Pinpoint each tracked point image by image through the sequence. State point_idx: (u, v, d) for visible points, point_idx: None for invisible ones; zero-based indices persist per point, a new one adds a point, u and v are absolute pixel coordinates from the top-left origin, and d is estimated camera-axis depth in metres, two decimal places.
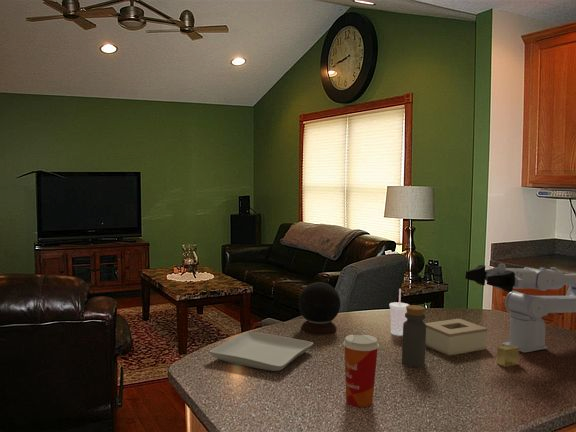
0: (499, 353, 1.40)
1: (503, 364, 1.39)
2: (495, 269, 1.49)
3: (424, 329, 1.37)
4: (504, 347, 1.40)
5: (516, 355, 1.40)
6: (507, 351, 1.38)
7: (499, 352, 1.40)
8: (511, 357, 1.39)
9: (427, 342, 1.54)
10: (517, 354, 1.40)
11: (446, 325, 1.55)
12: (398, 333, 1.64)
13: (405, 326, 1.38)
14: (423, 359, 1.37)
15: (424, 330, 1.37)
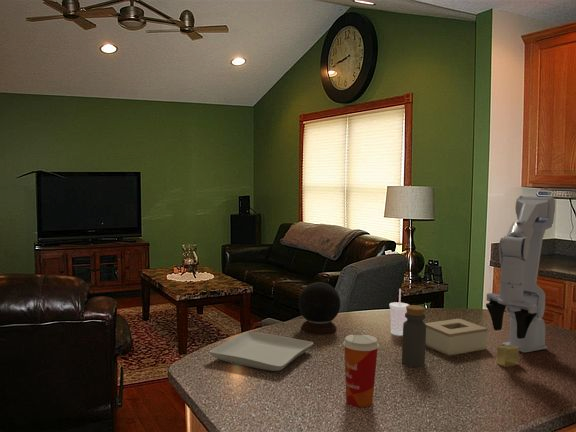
0: (499, 353, 1.40)
1: (503, 364, 1.39)
2: None
3: (424, 329, 1.37)
4: (504, 347, 1.40)
5: (516, 355, 1.40)
6: (507, 351, 1.38)
7: (499, 352, 1.40)
8: (511, 357, 1.39)
9: (427, 342, 1.54)
10: (517, 354, 1.40)
11: (446, 325, 1.55)
12: (398, 333, 1.64)
13: (405, 326, 1.38)
14: (423, 359, 1.37)
15: (424, 330, 1.37)
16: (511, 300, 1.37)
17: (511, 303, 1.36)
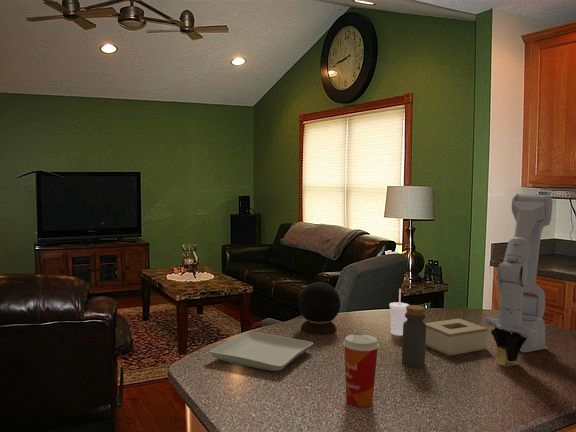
0: (499, 353, 1.40)
1: (503, 364, 1.39)
2: None
3: (424, 329, 1.37)
4: (504, 347, 1.40)
5: None
6: (507, 350, 1.38)
7: (499, 351, 1.40)
8: None
9: (427, 342, 1.54)
10: None
11: (446, 325, 1.55)
12: (398, 333, 1.64)
13: (405, 326, 1.38)
14: (423, 359, 1.37)
15: (424, 330, 1.37)
16: (510, 326, 1.37)
17: (510, 329, 1.37)
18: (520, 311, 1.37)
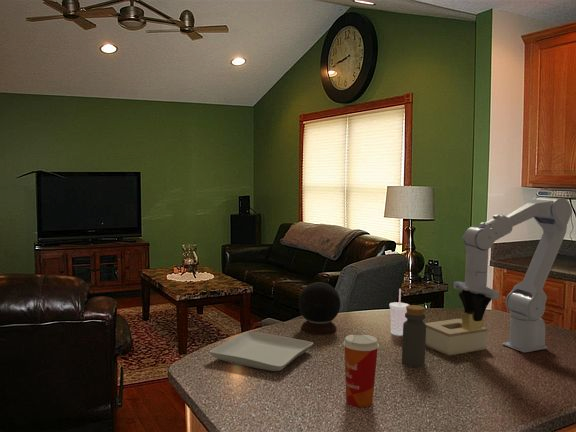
0: (464, 318, 1.47)
1: (467, 328, 1.46)
2: None
3: (424, 329, 1.37)
4: (469, 312, 1.47)
5: None
6: (471, 315, 1.46)
7: (464, 317, 1.47)
8: (475, 321, 1.47)
9: (427, 342, 1.54)
10: None
11: (446, 325, 1.55)
12: (398, 333, 1.64)
13: (405, 326, 1.38)
14: (423, 359, 1.37)
15: (424, 330, 1.37)
16: (475, 287, 1.45)
17: (475, 290, 1.44)
18: (485, 273, 1.45)
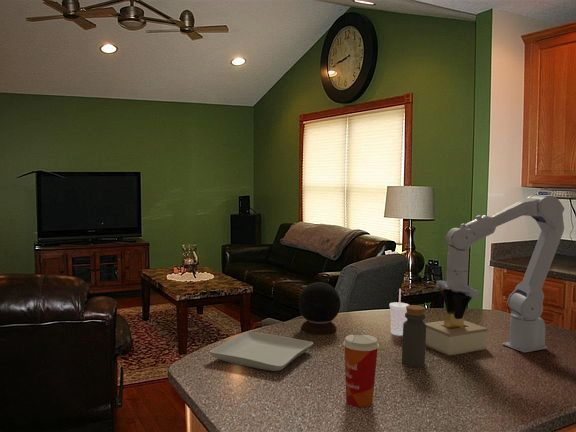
0: (445, 317, 1.53)
1: (449, 327, 1.51)
2: None
3: (424, 329, 1.37)
4: (450, 312, 1.53)
5: (461, 319, 1.53)
6: (452, 315, 1.51)
7: (446, 316, 1.53)
8: (457, 321, 1.52)
9: (427, 342, 1.54)
10: (462, 318, 1.53)
11: None
12: (398, 333, 1.64)
13: (405, 326, 1.38)
14: (423, 359, 1.37)
15: (424, 330, 1.37)
16: (456, 286, 1.50)
17: (455, 289, 1.50)
18: (465, 273, 1.50)
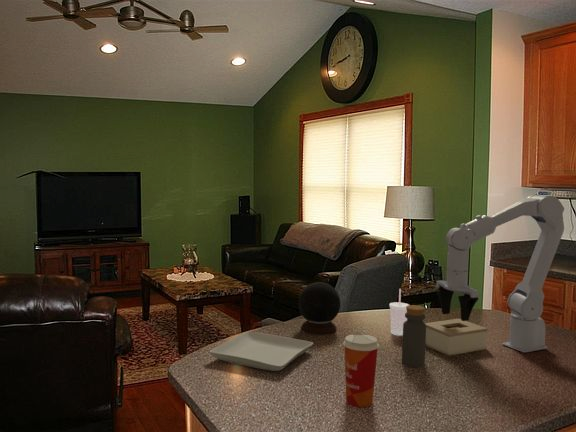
0: None
1: None
2: None
3: (424, 329, 1.37)
4: None
5: None
6: None
7: None
8: None
9: (427, 342, 1.54)
10: None
11: (446, 325, 1.55)
12: (398, 333, 1.64)
13: (405, 326, 1.38)
14: (423, 359, 1.37)
15: (424, 330, 1.37)
16: (456, 286, 1.50)
17: (455, 289, 1.50)
18: (465, 272, 1.50)
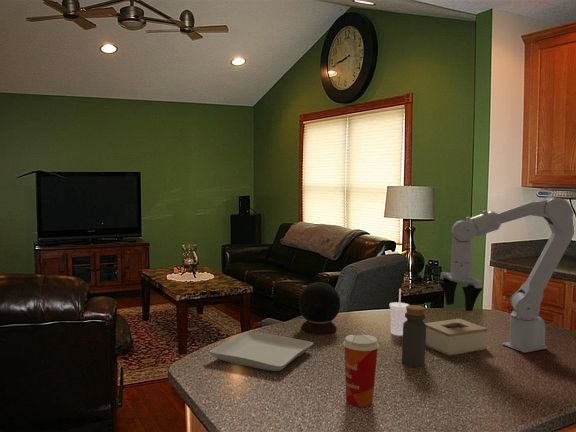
0: None
1: None
2: None
3: (424, 329, 1.37)
4: None
5: None
6: None
7: None
8: None
9: (427, 342, 1.54)
10: None
11: (446, 325, 1.55)
12: (398, 333, 1.64)
13: (405, 326, 1.38)
14: (423, 359, 1.37)
15: (424, 330, 1.37)
16: (460, 277, 1.54)
17: (460, 280, 1.54)
18: (469, 264, 1.54)
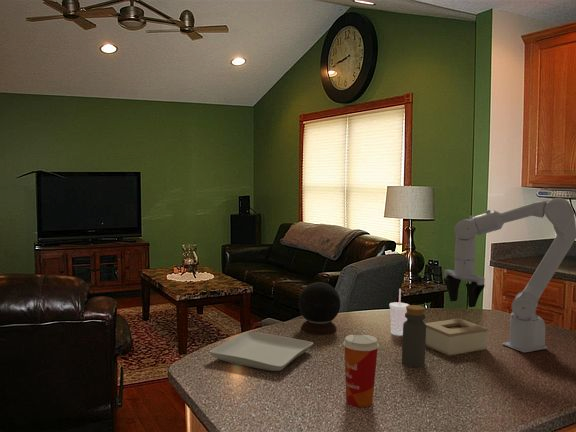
0: None
1: None
2: None
3: (424, 329, 1.37)
4: None
5: None
6: None
7: None
8: None
9: (427, 342, 1.54)
10: None
11: (446, 325, 1.55)
12: (398, 333, 1.64)
13: (405, 326, 1.38)
14: (423, 359, 1.37)
15: (424, 330, 1.37)
16: (463, 274, 1.58)
17: (463, 277, 1.58)
18: (472, 261, 1.58)
